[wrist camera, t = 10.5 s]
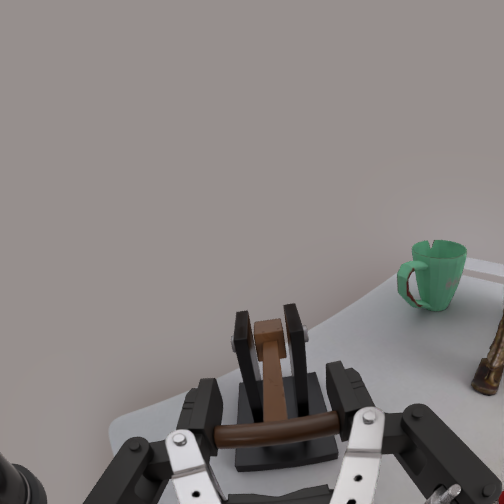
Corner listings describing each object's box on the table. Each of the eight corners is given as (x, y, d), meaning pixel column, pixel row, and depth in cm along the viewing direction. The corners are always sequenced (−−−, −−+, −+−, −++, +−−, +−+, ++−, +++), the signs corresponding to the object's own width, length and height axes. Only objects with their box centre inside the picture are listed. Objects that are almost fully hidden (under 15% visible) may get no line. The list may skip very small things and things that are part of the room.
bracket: (337, 458, 18) (346, 356, 15) (237, 472, 18) (196, 376, 15) (315, 379, 29) (309, 282, 26) (241, 389, 30) (218, 296, 27)
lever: (340, 446, 9) (341, 410, 9) (220, 461, 10) (208, 427, 9) (302, 340, 22) (300, 314, 22) (239, 349, 23) (234, 324, 22)
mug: (431, 287, 44) (434, 236, 41) (469, 304, 35) (476, 247, 32) (377, 313, 40) (378, 255, 38) (419, 339, 31) (426, 272, 29)
